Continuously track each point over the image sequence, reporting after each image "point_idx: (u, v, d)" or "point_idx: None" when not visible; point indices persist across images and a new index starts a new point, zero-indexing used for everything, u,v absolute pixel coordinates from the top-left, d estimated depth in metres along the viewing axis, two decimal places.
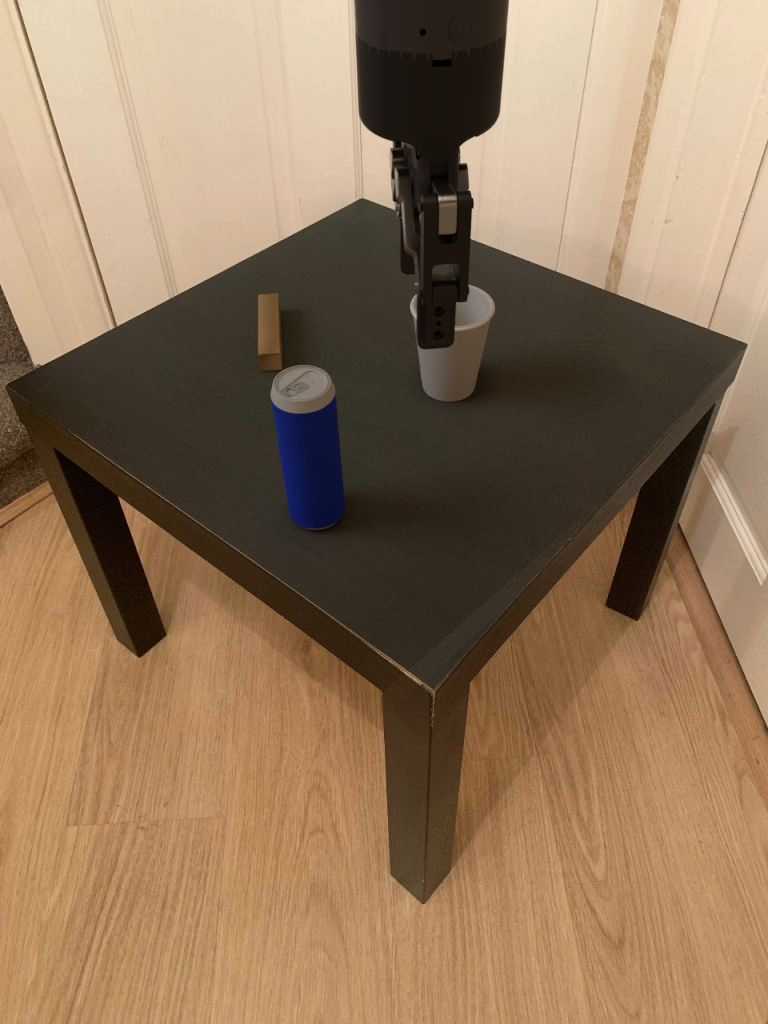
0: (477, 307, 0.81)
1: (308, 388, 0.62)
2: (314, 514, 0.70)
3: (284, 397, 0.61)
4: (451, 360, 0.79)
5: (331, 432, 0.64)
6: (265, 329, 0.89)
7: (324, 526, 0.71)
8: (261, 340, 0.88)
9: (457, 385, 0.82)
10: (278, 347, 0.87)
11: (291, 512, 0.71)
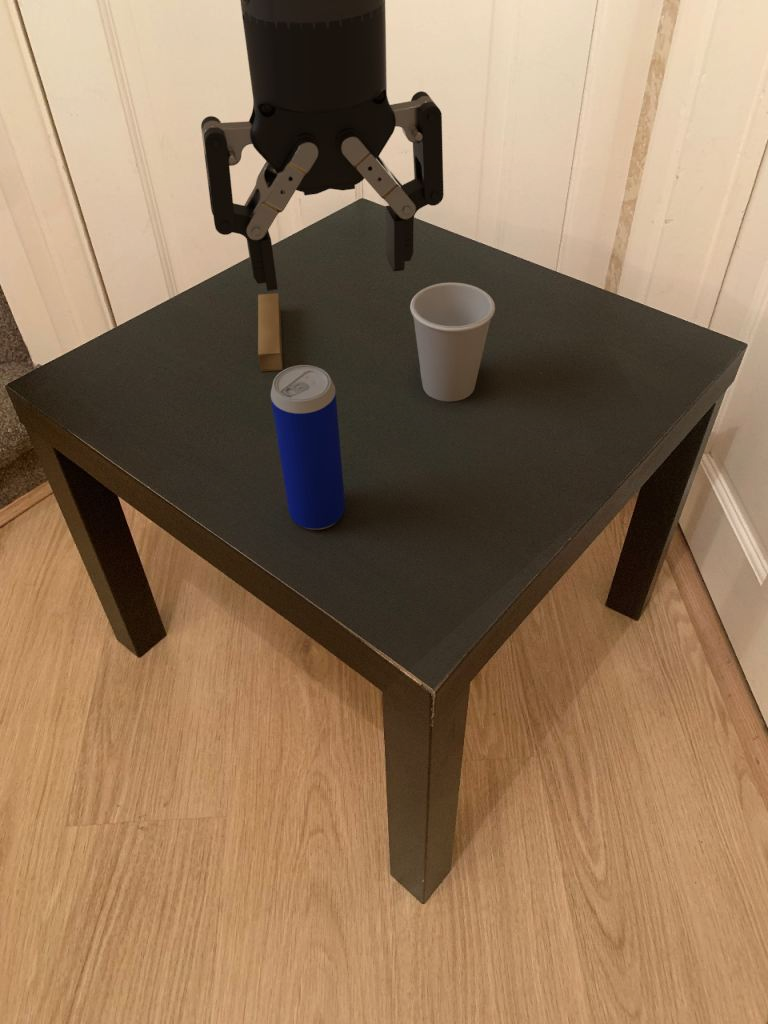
0: (477, 307, 0.81)
1: (309, 388, 0.62)
2: (314, 514, 0.70)
3: (284, 397, 0.61)
4: (451, 360, 0.79)
5: (331, 432, 0.64)
6: (265, 329, 0.89)
7: (324, 526, 0.71)
8: (261, 340, 0.88)
9: (457, 385, 0.82)
10: (278, 347, 0.87)
11: (291, 512, 0.71)
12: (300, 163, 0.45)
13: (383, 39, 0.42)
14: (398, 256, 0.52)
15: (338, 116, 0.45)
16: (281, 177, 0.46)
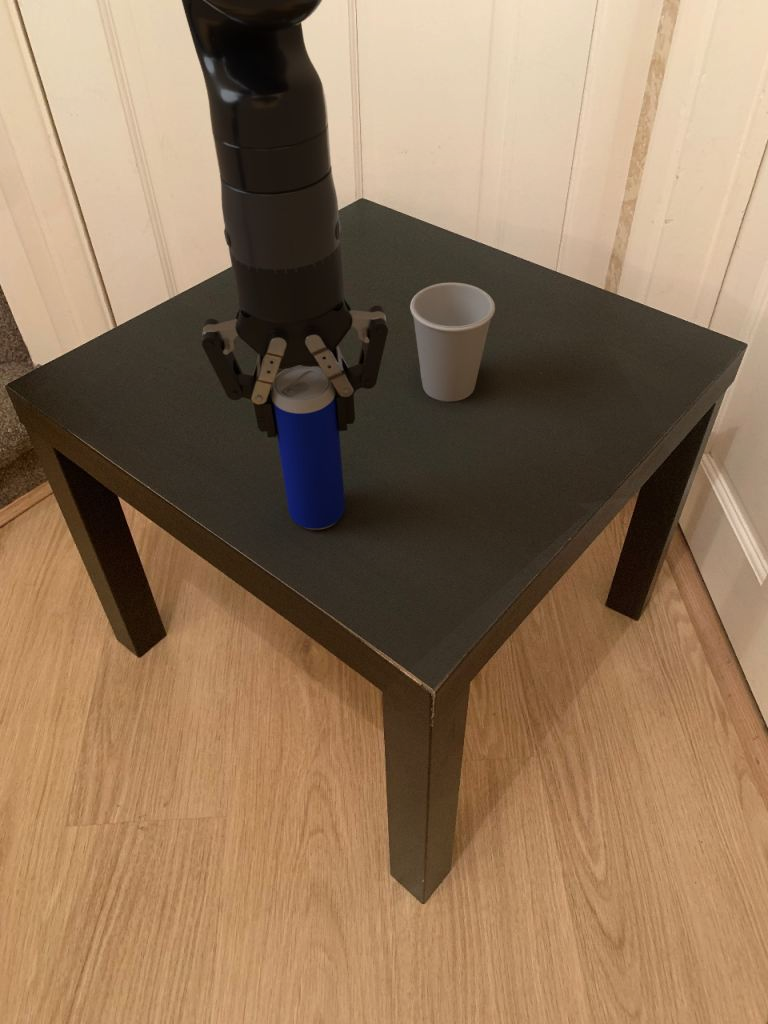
0: (477, 307, 0.81)
1: (309, 388, 0.62)
2: (314, 514, 0.70)
3: (285, 397, 0.61)
4: (451, 360, 0.79)
5: (331, 432, 0.64)
6: None
7: (324, 526, 0.71)
8: None
9: (457, 385, 0.82)
10: None
11: (291, 512, 0.71)
12: (272, 351, 0.57)
13: (336, 272, 0.53)
14: (341, 421, 0.64)
15: None
16: (264, 363, 0.58)
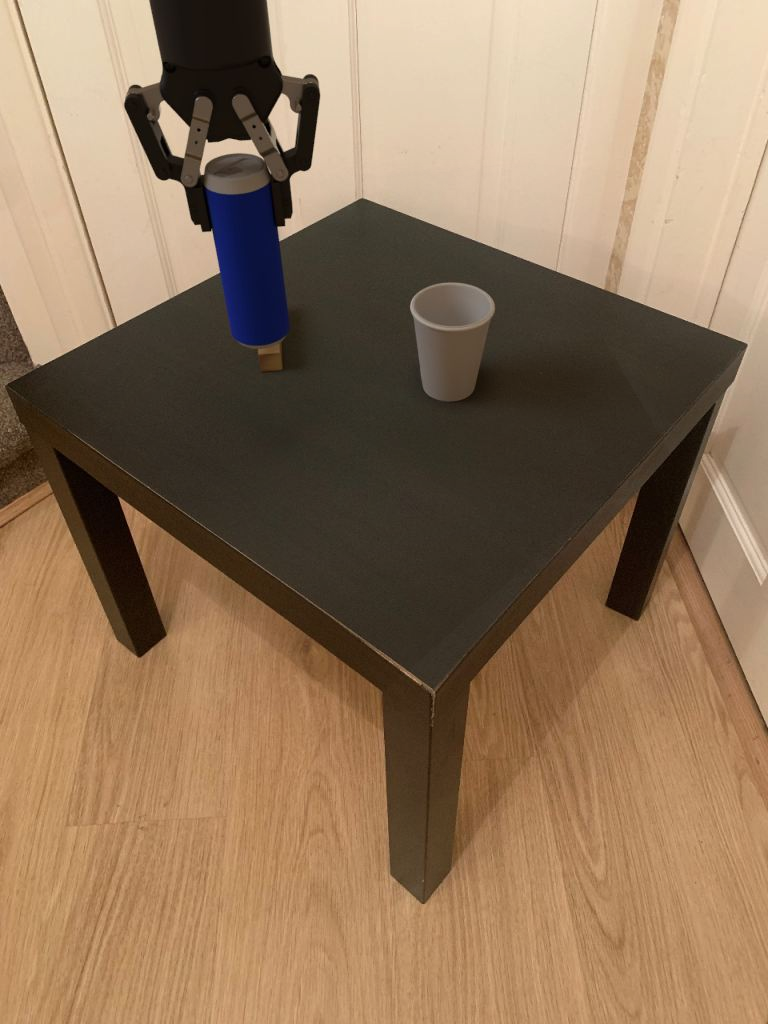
0: (477, 307, 0.81)
1: (242, 172, 0.59)
2: (255, 327, 0.67)
3: (216, 177, 0.58)
4: (451, 360, 0.79)
5: (267, 224, 0.61)
6: None
7: (266, 343, 0.68)
8: None
9: (457, 385, 0.82)
10: (278, 347, 0.87)
11: (232, 329, 0.68)
12: (198, 114, 0.55)
13: (260, 13, 0.51)
14: (278, 213, 0.61)
15: (230, 76, 0.54)
16: (191, 130, 0.56)
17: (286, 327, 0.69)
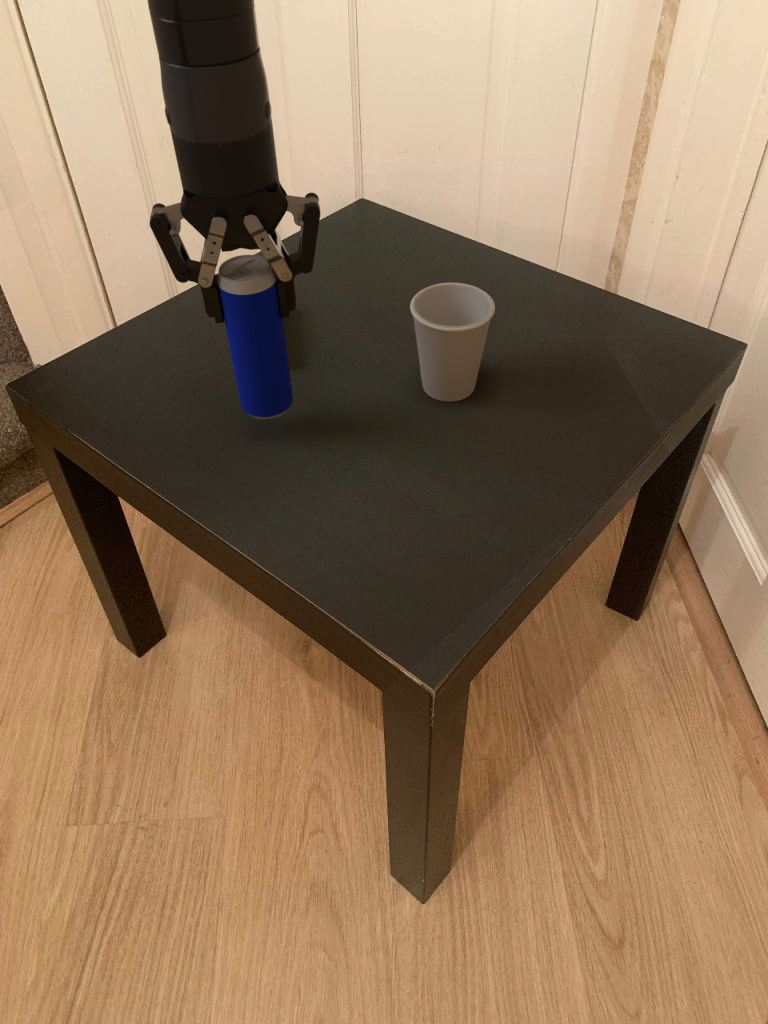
0: (477, 307, 0.81)
1: (252, 273, 0.67)
2: (262, 402, 0.75)
3: (228, 280, 0.66)
4: (451, 360, 0.79)
5: (274, 316, 0.69)
6: None
7: (272, 415, 0.76)
8: None
9: (457, 385, 0.82)
10: None
11: (242, 402, 0.76)
12: (214, 230, 0.63)
13: (268, 151, 0.59)
14: (283, 307, 0.69)
15: (242, 199, 0.62)
16: (207, 243, 0.64)
17: (290, 400, 0.77)
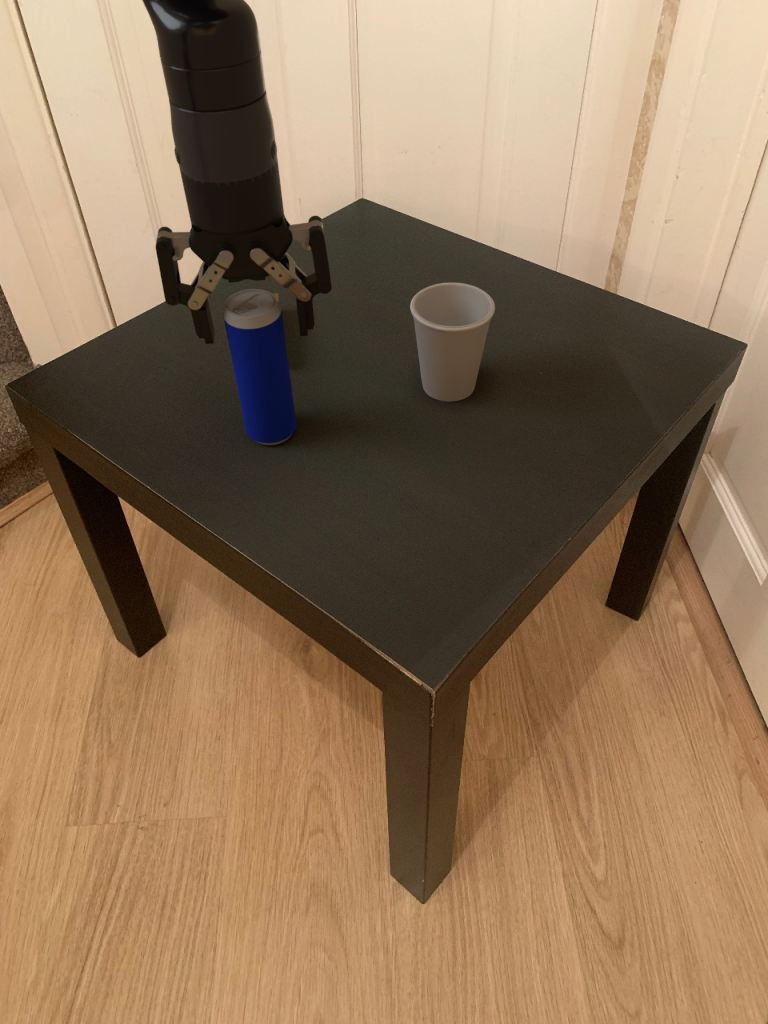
0: (477, 307, 0.81)
1: (257, 308, 0.70)
2: (267, 429, 0.77)
3: (234, 314, 0.69)
4: (451, 360, 0.79)
5: (278, 348, 0.72)
6: None
7: (276, 441, 0.79)
8: None
9: (457, 385, 0.82)
10: None
11: (247, 428, 0.79)
12: (221, 263, 0.65)
13: (274, 188, 0.61)
14: (302, 326, 0.71)
15: (248, 233, 0.64)
16: (209, 271, 0.66)
17: (293, 426, 0.79)
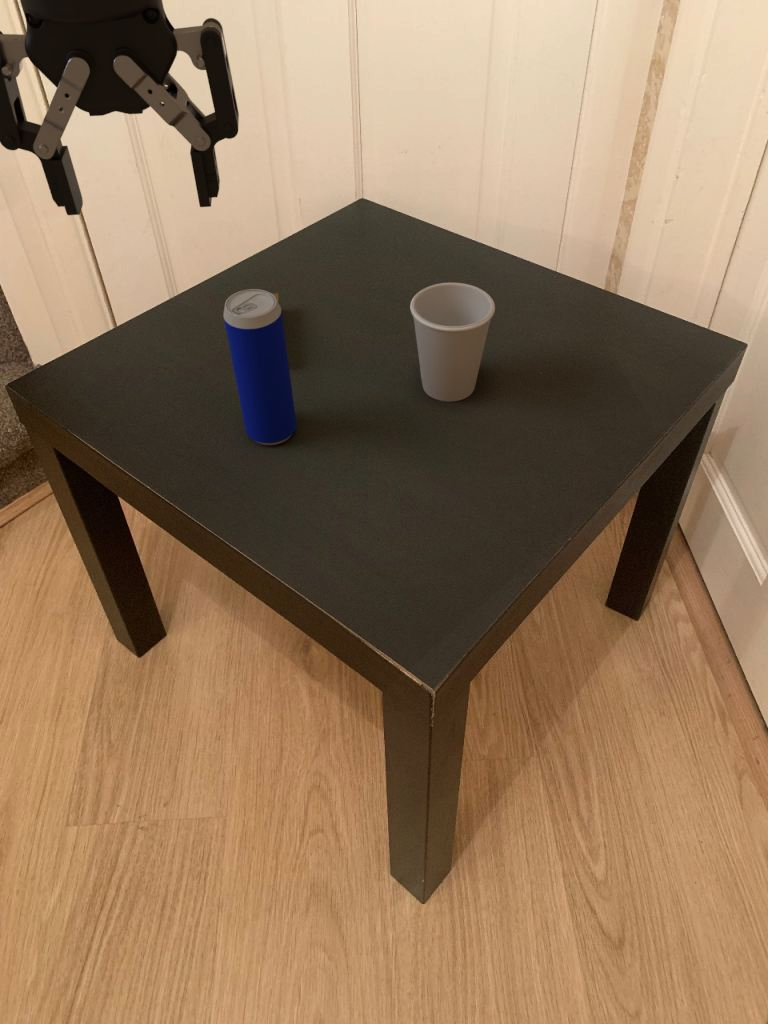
0: (477, 307, 0.81)
1: (257, 308, 0.70)
2: (267, 429, 0.77)
3: (234, 314, 0.69)
4: (451, 360, 0.79)
5: (278, 348, 0.72)
6: None
7: (276, 441, 0.79)
8: None
9: (457, 385, 0.82)
10: None
11: (247, 428, 0.79)
12: (72, 79, 0.45)
13: None
14: (201, 191, 0.51)
15: (110, 33, 0.44)
16: (56, 93, 0.46)
17: (293, 426, 0.79)
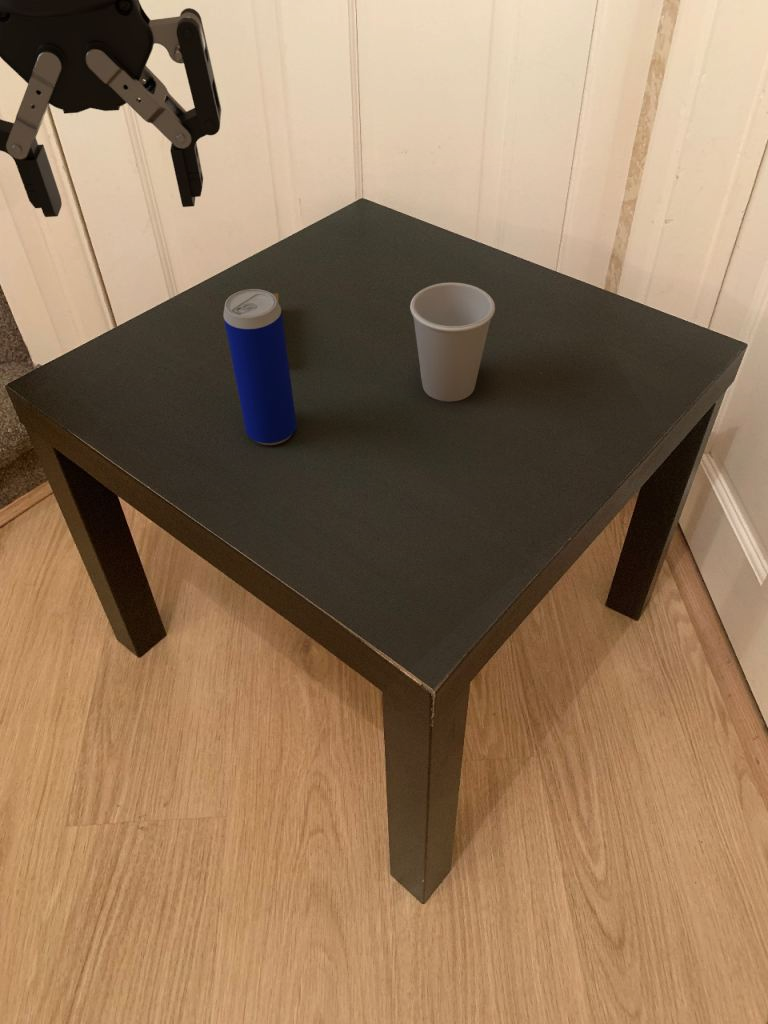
0: (477, 307, 0.81)
1: (257, 308, 0.70)
2: (267, 429, 0.77)
3: (234, 314, 0.69)
4: (451, 360, 0.79)
5: (278, 348, 0.72)
6: None
7: (276, 441, 0.79)
8: None
9: (457, 385, 0.82)
10: None
11: (247, 428, 0.79)
12: (43, 75, 0.43)
13: None
14: (183, 190, 0.49)
15: (82, 26, 0.42)
16: (28, 90, 0.44)
17: (293, 426, 0.79)
